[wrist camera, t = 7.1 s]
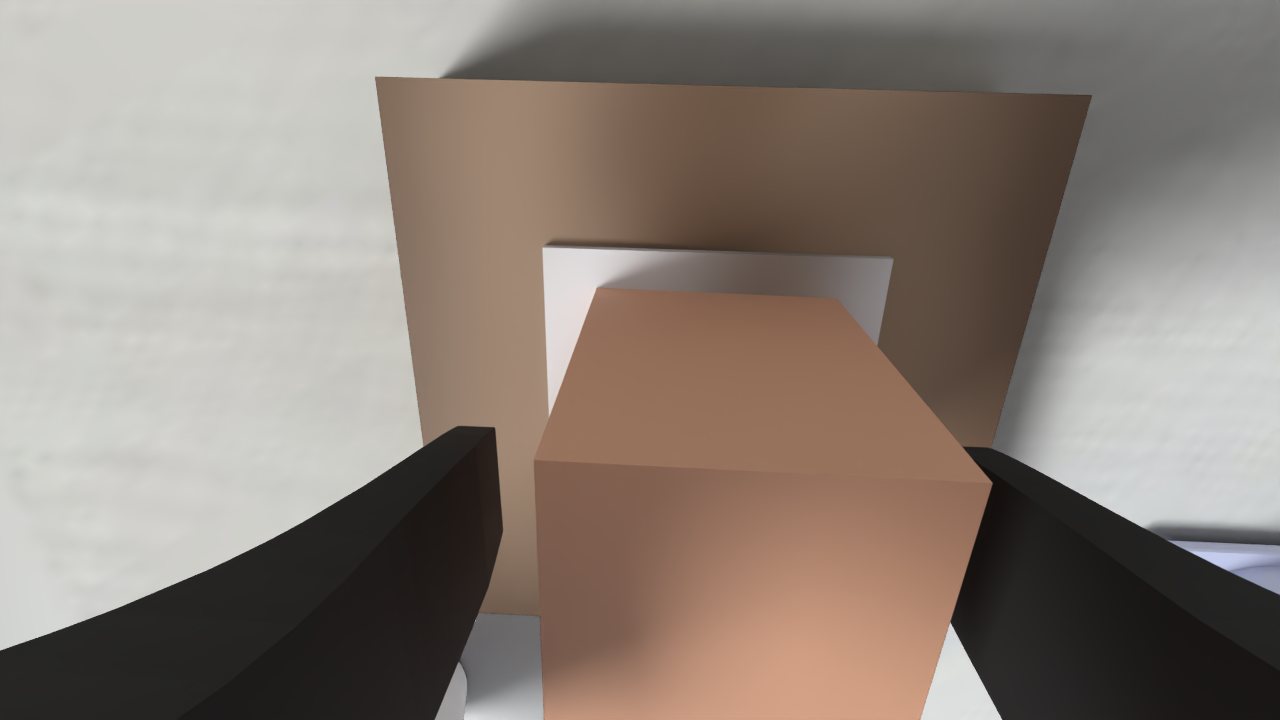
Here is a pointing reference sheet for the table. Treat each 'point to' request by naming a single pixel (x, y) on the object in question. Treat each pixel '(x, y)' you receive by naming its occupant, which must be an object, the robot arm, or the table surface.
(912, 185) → the walnut pedestal
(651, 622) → the terracotta cube
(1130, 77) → the table surface
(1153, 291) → the table surface
